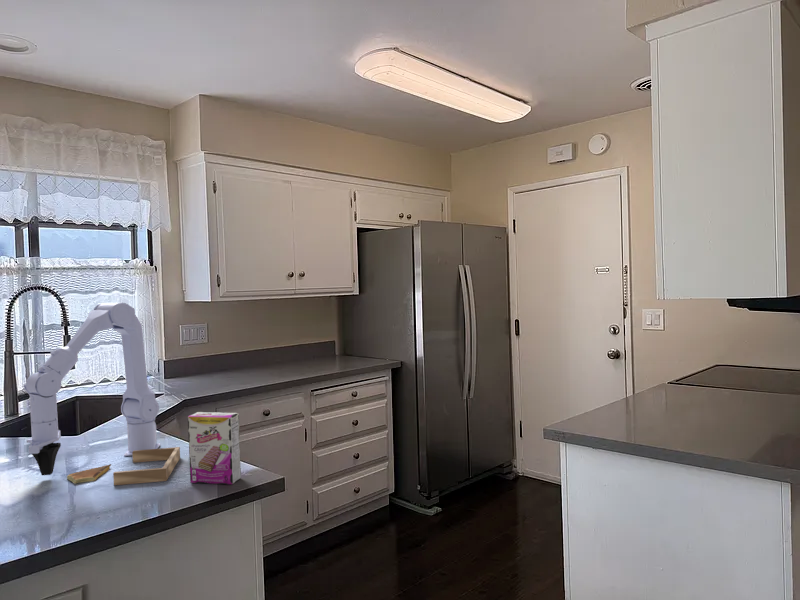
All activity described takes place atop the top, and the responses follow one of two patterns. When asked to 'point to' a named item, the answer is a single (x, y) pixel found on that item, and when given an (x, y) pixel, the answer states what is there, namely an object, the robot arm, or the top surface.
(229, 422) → the candy bar box
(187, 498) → the top surface
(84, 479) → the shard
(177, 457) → the frame
